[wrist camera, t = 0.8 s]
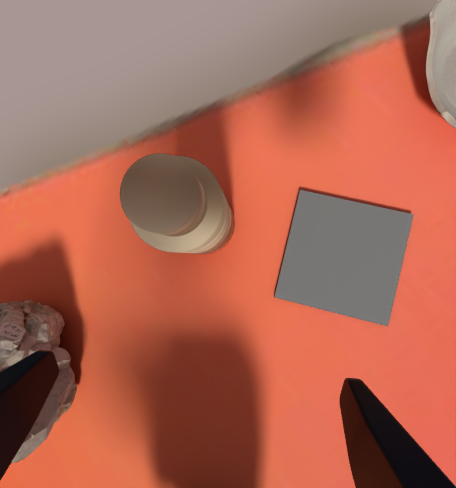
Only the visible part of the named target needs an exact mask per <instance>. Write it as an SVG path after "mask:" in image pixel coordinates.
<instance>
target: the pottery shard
mask: <svg viewBox="0 0 456 488" xmlns="http://www.w3.org/2000/svg"><path fill="white" fill-rule="evenodd" d="M430 31H431V34H430V41H429V47H428V52H427V59H426V76H427V83H428V88H429V92H430V96H431V98H432V101H433V103H434V105H435V107H436V109H437V111H438V112H439V113H440V114H441V116H442V117H443V118H444V119H445V120H446V121H447V122H448V123H449V124H450V125H452V126H453V127H454V128H456V0H437V1H436V3H435V4H434V6H433V8H432V10H431V12H430Z"/></svg>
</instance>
